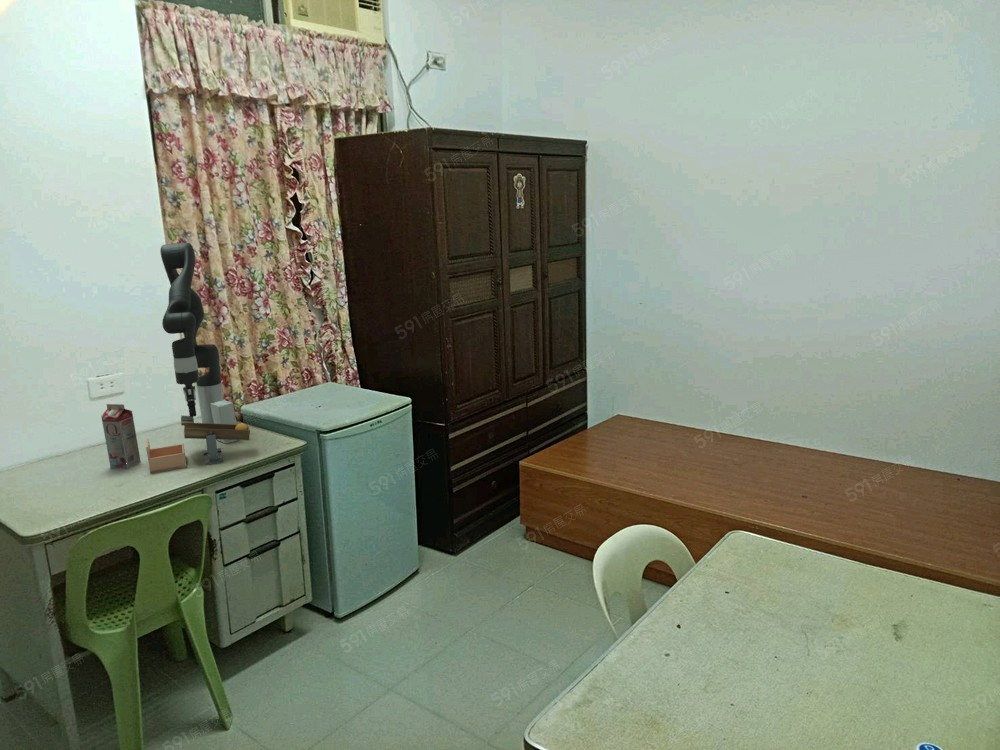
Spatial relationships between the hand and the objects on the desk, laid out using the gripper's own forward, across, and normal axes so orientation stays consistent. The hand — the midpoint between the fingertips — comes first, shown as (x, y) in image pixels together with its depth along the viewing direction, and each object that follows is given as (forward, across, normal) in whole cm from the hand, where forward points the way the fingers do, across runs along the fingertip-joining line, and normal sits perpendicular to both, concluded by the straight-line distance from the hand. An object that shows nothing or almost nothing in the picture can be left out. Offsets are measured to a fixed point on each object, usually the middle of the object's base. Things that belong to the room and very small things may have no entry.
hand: (192, 413), depth 250 cm
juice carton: (+15, 0, -24) cm, 28 cm away
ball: (+6, +8, +15) cm, 18 cm away
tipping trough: (+7, +4, +6) cm, 10 cm away
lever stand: (+15, +8, +5) cm, 18 cm away
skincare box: (+15, -10, +10) cm, 21 cm away
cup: (+15, +8, -10) cm, 20 cm away
